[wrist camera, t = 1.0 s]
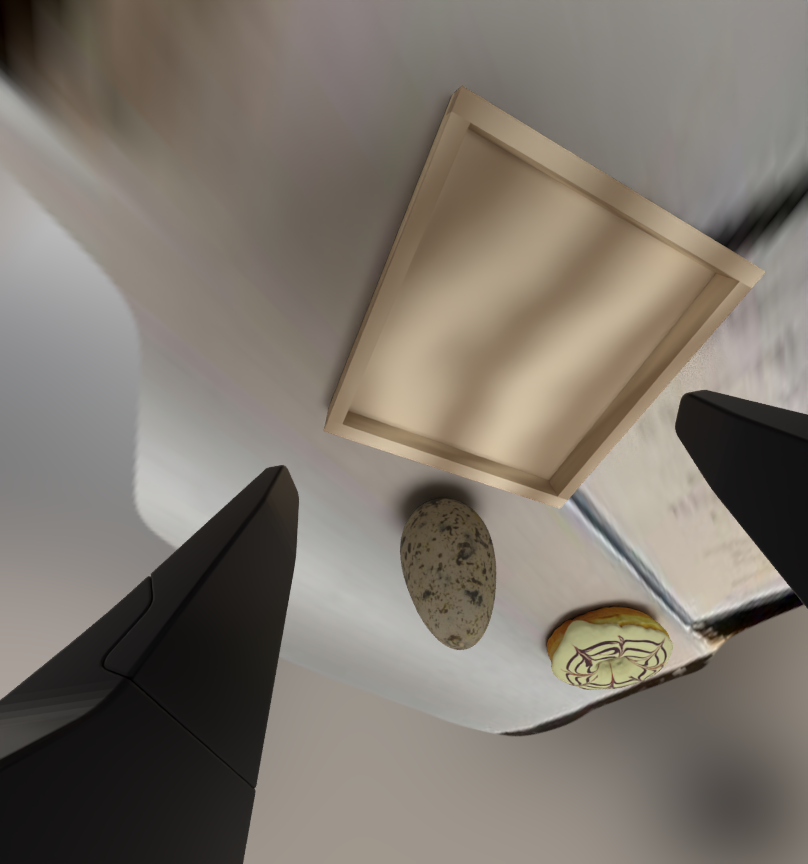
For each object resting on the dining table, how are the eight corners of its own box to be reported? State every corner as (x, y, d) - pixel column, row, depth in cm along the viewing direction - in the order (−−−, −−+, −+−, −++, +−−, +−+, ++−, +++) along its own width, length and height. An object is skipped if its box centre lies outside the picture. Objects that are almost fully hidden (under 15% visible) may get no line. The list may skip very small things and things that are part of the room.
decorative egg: (415, 546, 32) (427, 685, 23) (385, 494, 28) (387, 631, 20) (489, 524, 31) (530, 660, 22) (467, 467, 27) (505, 600, 19)
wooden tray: (728, 261, 21) (765, 272, 19) (547, 484, 29) (560, 508, 27) (452, 94, 17) (461, 85, 15) (328, 409, 24) (323, 431, 22)
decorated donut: (548, 604, 37) (563, 645, 34) (667, 592, 37) (693, 632, 34) (539, 663, 43) (551, 703, 40) (642, 653, 42) (663, 692, 39)
